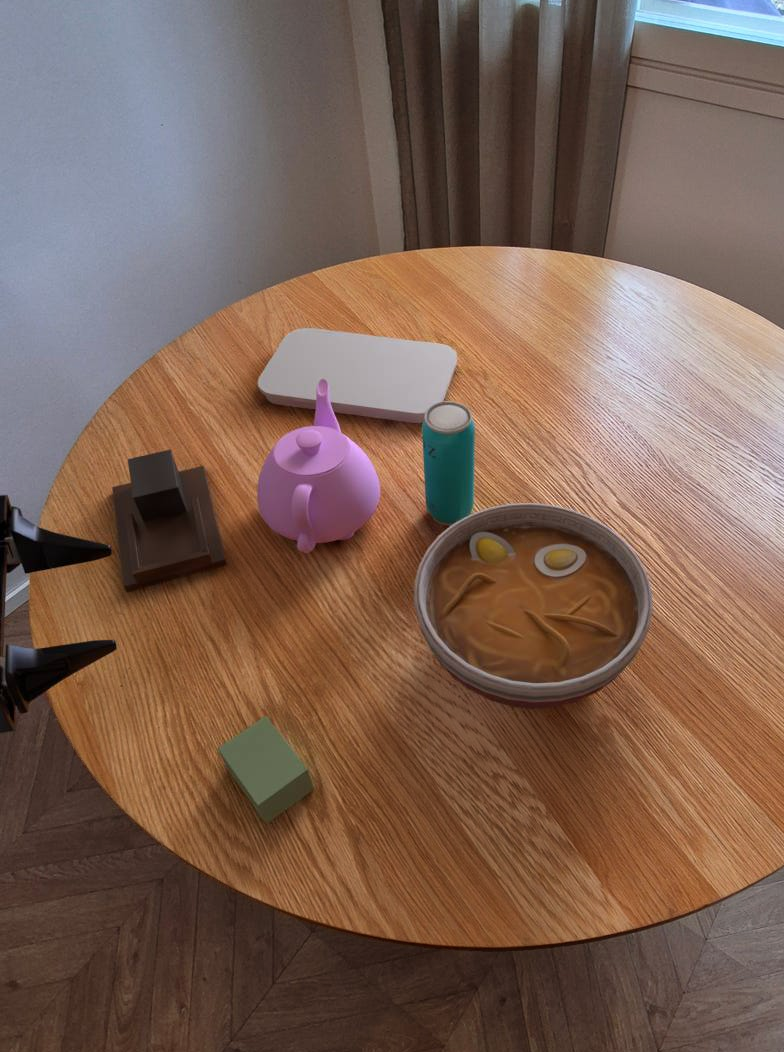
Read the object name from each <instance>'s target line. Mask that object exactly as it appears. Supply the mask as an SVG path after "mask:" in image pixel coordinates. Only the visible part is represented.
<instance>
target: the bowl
mask: <svg viewBox="0 0 784 1052" xmlns="http://www.w3.org/2000/svg"><path fill="white" fill-rule="evenodd" d="M413 603H414V605H413V606H414V609H415V613H416V617H417V620H418V621H417V622H418V623H419V624H418V625H419V628H420V631H421V635H422V637H423V638H424V641H425V642H426V644H427V646H428V648H429V650H430V651H431V653H432V654H433V656H434V657H435V659H436V660H437V661H438V663H439V664H440V665H441V666H442V667H443V668H444V670H445V671H446V672H447V673H448V674H449V675H450V676H451V678H453V679H454V680H455V681H457V682H458V683H459V684H460V685H462V686H463V687H464V688H466V689H467V690H469V691H471V692H473V693H474V694H477V695H478V696H480V697H482V698H485V699H487V700H488V701H491V702H494V703H497V704H501V705H503V706H507V707H510V708H518V709H528V710H539V709H540V710H541V709H553V708H557V707H561V706H565V705H569V704H573V703H578V702H579V701H582V700H584V699H586V698H588V697H591V696H592V695H595V694H596V693H598V692H599V691H601V690H602V689H604V688H605V687H606V686H608V685H609V684H611V683H612V682H613V681H614V680H615V679H616V678H618V676H619V675H620V674H622V672H623V671H625V669H626V668H627V667H628V666H629V665H630V663H631V662H632V661H633V660H634V659H635V657H636V656H637V654H638V652H639V649H640V648H641V646H642V644H643V642H644V640H645V638H646V636H647V634H648V632H649V628H650V624H651V621H652V617H653V612H654V611H653V609H654V608H653V589H652V586H651V582H650V578H649V575H648V572H647V569H646V568H645V567H644V565H643V563H642V562H641V559H640V557H639V556H638V555H637V553H636V552H635V551H634V550H633V549H632V547H631V546H630V545H629V544H628V543H627V542H626V540H624V539H623V538H622V537H621V536H620V535H619V534H617V533H616V532H615V530H612V529H611V528H610V527H609V526H607V525H605V524H603V523H601V522H600V521H598V520H596V519H595V518H594V517H591V516H589V515H586V514H584V513H582V512H579V511H576V510H574V509H571V508H566V507H562V506H558V505H554V504H548V503H547V504H546V503H538V502H522V503H520V502H519V503H507V504H501V505H496V506H491V507H487V508H485V509H481V510H478V511H476V512H474V513H470V514H469V516H467V517H465V518H463V519H461V520H460V521H458V522H456V523H454V524H453V525H451V526H448V528H446V529H445V530H444V531H442V532H441V533H440V534H439V535H438V536H437V537H436V538H435V539H434V541H433V542H432V543H431V544H430V546H429V547H428V548H427V549H426V551H425V553H424V554H423V557H422V559H421V560H420V563H419V565H418V566H417V570H416V575H415V579H414V584H413Z"/></svg>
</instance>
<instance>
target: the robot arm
mask: <svg viewBox="0 0 784 1052" xmlns="http://www.w3.org/2000/svg"><path fill="white" fill-rule="evenodd" d="M111 556H113V549H112V546H111V545H110V544H107V543H103V542H97V541H93V540H88V539H84V538H80V537H76V536H71V535H66V534H63V533H58V532H55V531H52V530H49V529H46V528H42V527H39V526H37V525H35V524H34V523H32V522H31V521H29V520H28V519H27V518H25V517H24V516H23V513H22V510H21V508H20V507H17V506H14V505H12V503H11V501H10V498H9V495H8V494H0V734H5V733H11V732H14V731H15V729H16V720H17V718H16V717H17V710H18V713H19V714H20V715H23V714H26V713H29V708H30V704H31V702H33V701H34V700H35V699H37V698H39V697H40V696H42V695H43V694H44V693H46V692H48V690H50V689H52V688H53V687H55V686H56V685H57V684H59V683H61V682H63V681H64V680H65V679H67V678H69V677H71V676H73V674H76V673H77V672H79V671H81V670H82V669H83V670H84V669H85V668H87V667H88V666H90V665H92V664H94V663H95V662H98V661H99V660H101V659H103V658H104V657H106V656H108V655H110V654H112V653H114V652H115V651H117V648H118V646H117V641H116V640H115V639H97V640H96V639H95V640H87V641H81V642H74V643H67V644H59V645H52V646H45V647H40V648H32V647H26V646H20V645H14V644H8V643H7V644H5V647H4V643H5V642H4V641H5V623H6V622H5V621H6V620H5V619H6V598H7V597H6V595H7V574H10V573H12V572H13V571H14V570H15V569H17V568H18V567H19V566H20V565H21V566H22V569H23V572H24V574H26V575H27V574H31V573H32V574H33V573H37V572H38V573H39V572H42V571H48V570H52V569H58V568H62V567H68V566H74V565H78V564H84V563H90V562H94V561H99V560H102V559H105V558H109V557H111ZM4 648H5V655H4Z"/></svg>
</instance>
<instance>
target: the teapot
mask: <svg viewBox="0 0 784 1052" xmlns="http://www.w3.org/2000/svg"><path fill="white" fill-rule="evenodd" d="M313 420H314V421H313V425H309V426H304V427H299V428H295V429H293V430H291V431H289V432H287V433H286V434H285V435H282V437H281V438H280V439H279V440H278V441H277V442H276V443H275V444H274V445H273V447H272V449H271V450H270V452H269V454H268V455H267V457H266V458H265V460H264V463H263V465H262V467H261V470H260V472H259V477H258V480H257V492H256V493H257V494H256V498H257V505H258V510H259V513H260V516H261V518H262V519H263V521H264V522H265V523H266V525H267V526H268V527H269V528H270V529H271V530H272V531H274V532H275V533H277V534H278V535H280V536H282V537H285V538H287V539H290V540H293V541H296V543H297V544H296V547H297V550H298V551H300V552H301V553H304V554H307V553H310V552H312V551H313V550H314V549H315V547H316V544H324V543H329V542H335V541H337V540H339V541H347V540H349V539H351V538H352V537H353V536H354V535H355V532H356V531H358V530H359V529H361V528H362V527H363V526H364V525H365V524H366V523H368V522H369V520H370V519H371V518H372V517H373V515H374V514H375V512H376V510H377V508H378V506H379V503H380V499H381V485H380V480H379V477H378V474H377V471H376V469H375V467H374V465H373V463H372V461H371V459H370V458H369V457H368V455H367V454H366V452H365V451H364V450H363V449H362V448H361V447H360V446H359V445H358V444H357V443H355V442H354V441H353V440H352V439H351V438H350V437H348V436H347V435H346V434H344V433H342V430H341V427H340V424H339V422H338V419H337V417H336V414H335V412H333V409H332V407H331V403H330V398H329V387H328V383H327V381H326V380H325V379H321V380H320V381H319V383H318V385H317V390H316V409H315V412H314V419H313Z"/></svg>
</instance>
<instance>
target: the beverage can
mask: <svg viewBox="0 0 784 1052" xmlns="http://www.w3.org/2000/svg"><path fill="white" fill-rule="evenodd" d="M475 427H476V425H475V422H474V420H473V414H472V411H471V410H470V408H469V407H467V406H466V405H465V404H464V403H460V402H457V401H450V400H447V401H445V400H444V401H443V402H439V403H436V404H434V405H432V406H430V407H429V408H428V409H427V410H426V412H425V415H424V422H423V423H421V437H422V452H423V453H422V456H423V476H424V495H425V496H424V497H425V506H426V509H427V511H428V514H429V515H430V517H431V518H432V519H433V521H435V522H436V523H438V524H439V525H442V526H447V527H450V526H451V525H453V524H454V523H456V522H458V521H460V520H461V519H463V518H465V517H467V516H469V515H471V512H472V510H473V509H474V506H475V505H474V504H475V449H476V448H475V445H476V444H475V437H476V435H475V434H476V433H475V432H476V430H475V429H476V428H475Z"/></svg>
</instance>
